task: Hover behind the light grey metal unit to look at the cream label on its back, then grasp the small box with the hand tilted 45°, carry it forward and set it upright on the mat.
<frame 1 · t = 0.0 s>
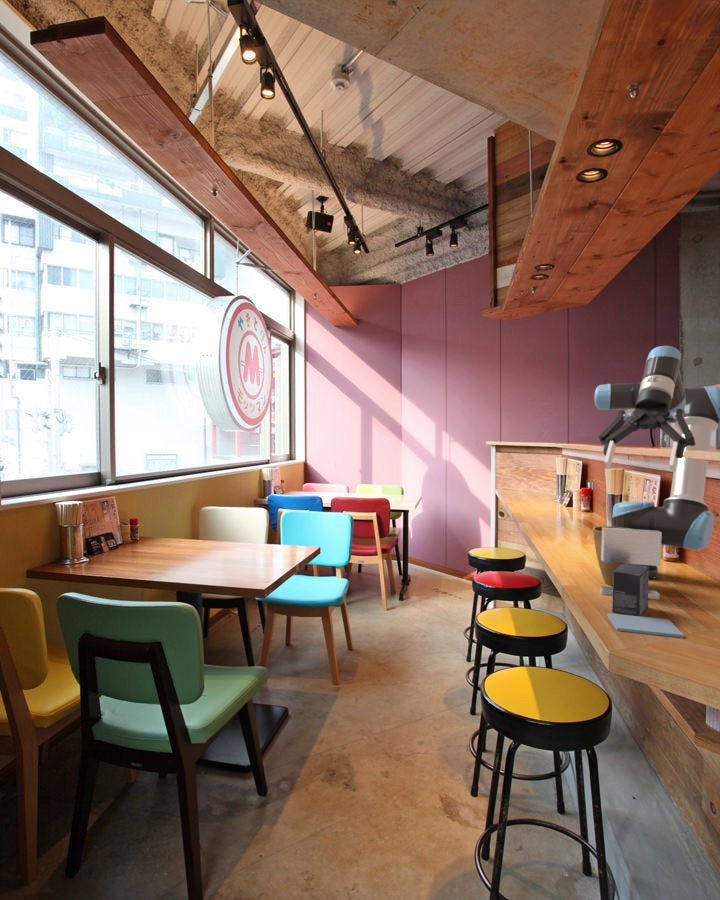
hand: (638, 467, 116), 36 cm above the counter, tool tilted 35°, fingers open, 13 cm apart
plant pot: (619, 585, 147), on the counter
small box: (629, 610, 124), on the counter
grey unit: (628, 595, 136), on the counter
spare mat: (643, 626, 113), on the counter
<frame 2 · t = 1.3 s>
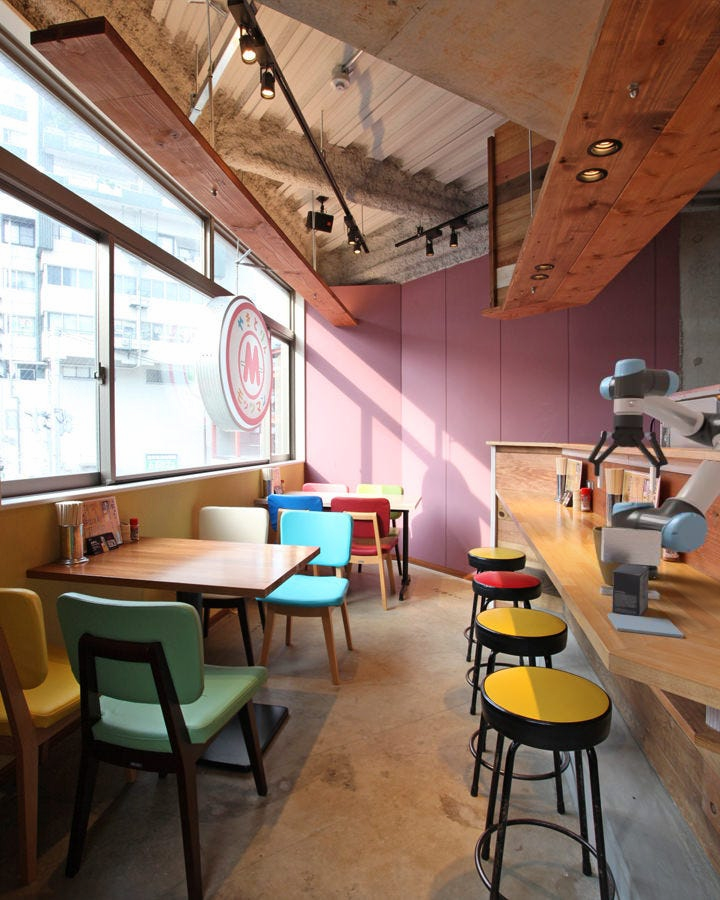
hand: (625, 489, 142), 29 cm above the counter, tool pointing down, fingers open, 13 cm apart
nothing on the counter moved.
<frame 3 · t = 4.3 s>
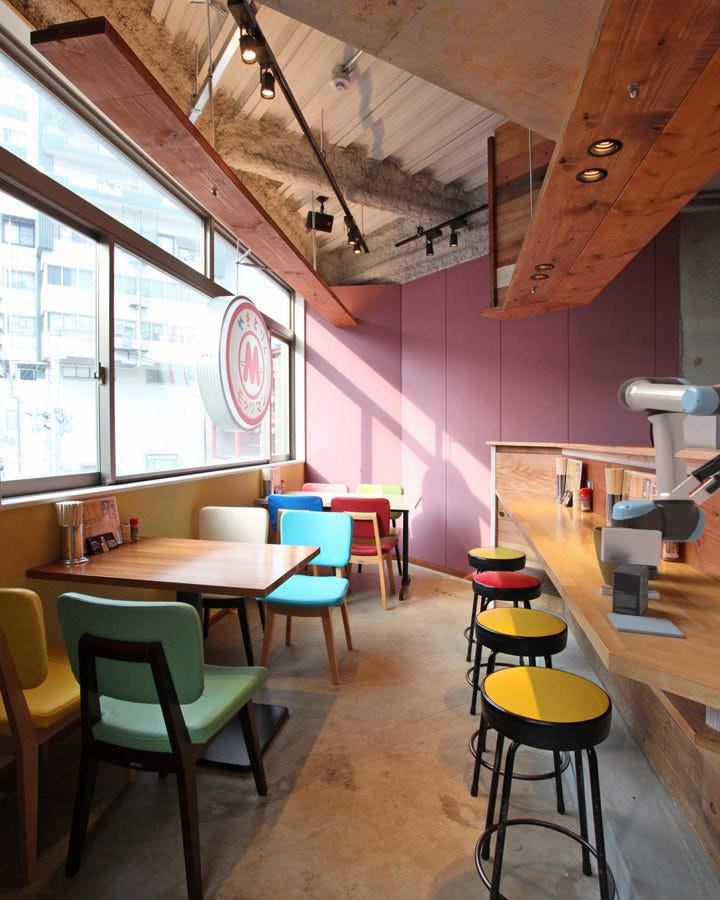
hand: (684, 498, 125), 28 cm above the counter, tool tilted 45°, fingers open, 13 cm apart
nothing on the counter moved.
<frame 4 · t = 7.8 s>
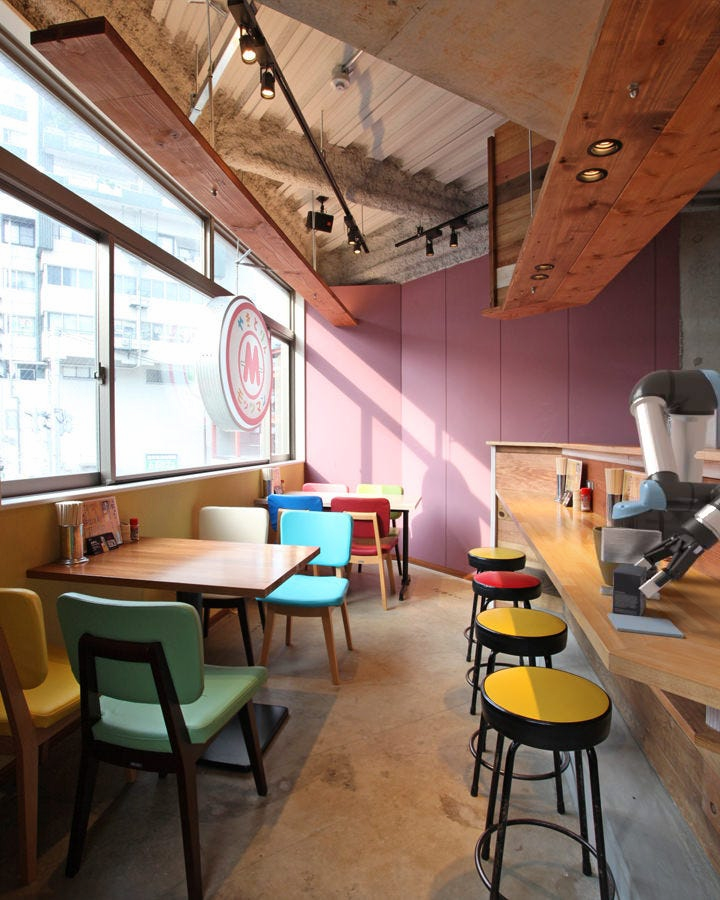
hand: (635, 585, 123), 6 cm above the counter, tool tilted 45°, fingers open, 13 cm apart
small box: (628, 611, 124), on the counter, touching gripper
everything else where it was.
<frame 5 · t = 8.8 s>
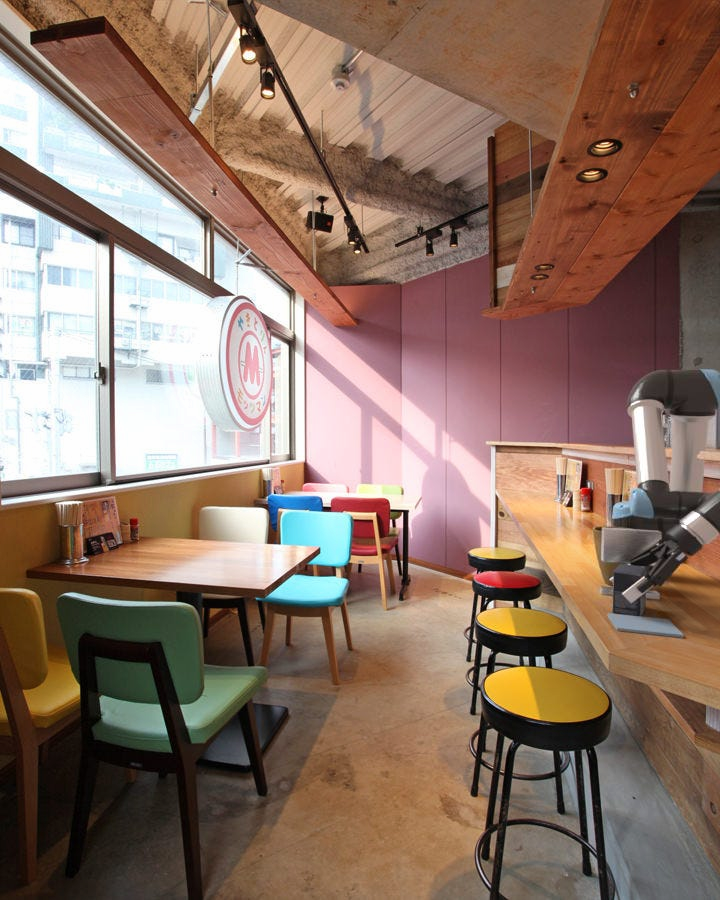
hand: (619, 590, 124), 5 cm above the counter, tool tilted 45°, fingers open, 12 cm apart
nothing on the counter moved.
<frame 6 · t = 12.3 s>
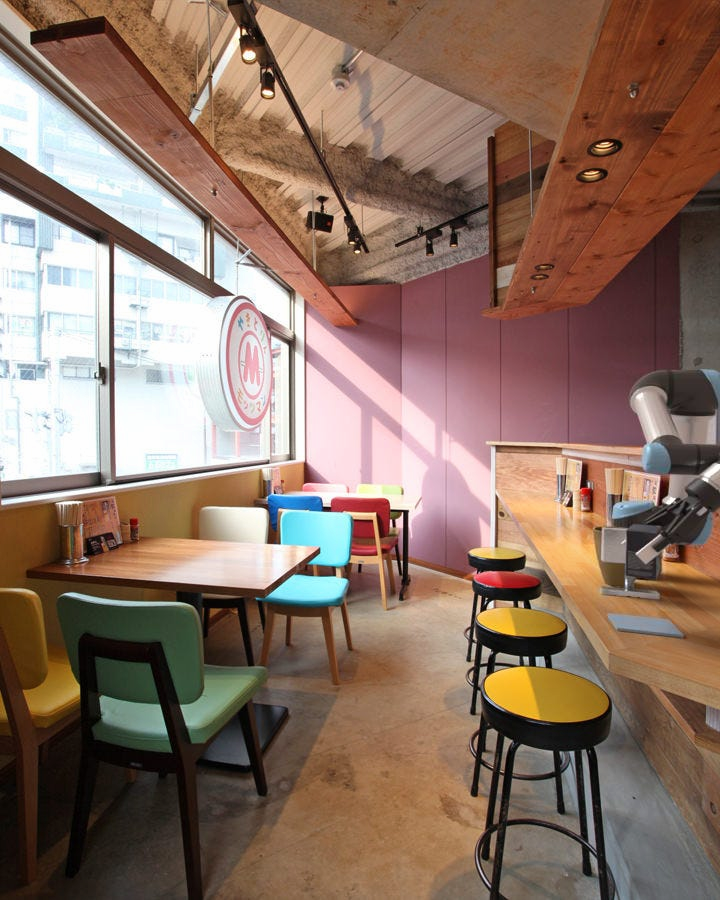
hand: (632, 553, 113), 16 cm above the counter, tool tilted 45°, fingers closed on small box, 12 cm apart
small box: (643, 574, 113), point 12 cm above the counter, touching gripper
everything else where it was.
when the fingers open (6 cm above the counter, at t = 15.4 s): small box stays where it is, resting on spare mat.
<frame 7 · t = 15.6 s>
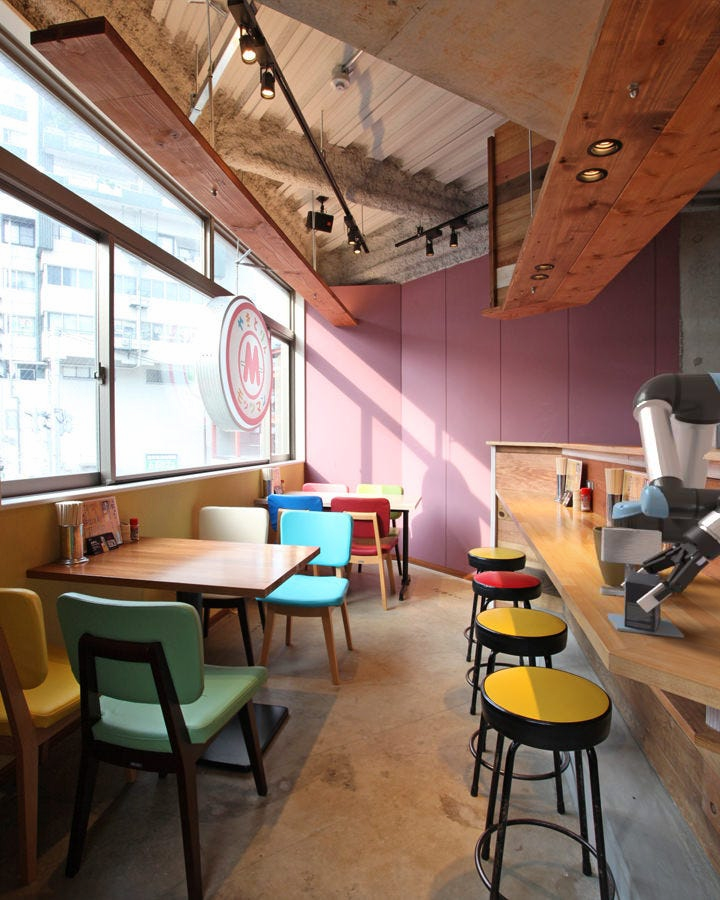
hand: (632, 598, 113), 6 cm above the counter, tool tilted 45°, fingers open, 13 cm apart
small box: (642, 624, 113), resting on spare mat
everything else where it was.
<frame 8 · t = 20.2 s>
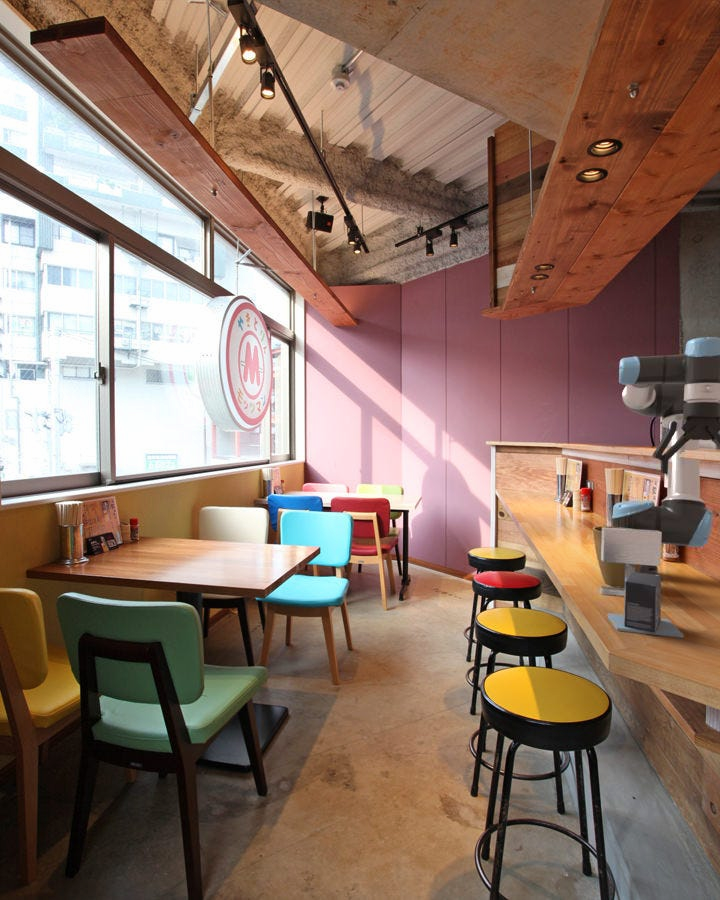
hand: (698, 488, 122), 31 cm above the counter, tool pointing down, fingers open, 13 cm apart
nothing on the counter moved.
at the end: small box inside the target area on the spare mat (0.3 cm from its centre), point 0.4 cm above the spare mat's base; small box tilted 0°; the gripper is holding nothing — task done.
